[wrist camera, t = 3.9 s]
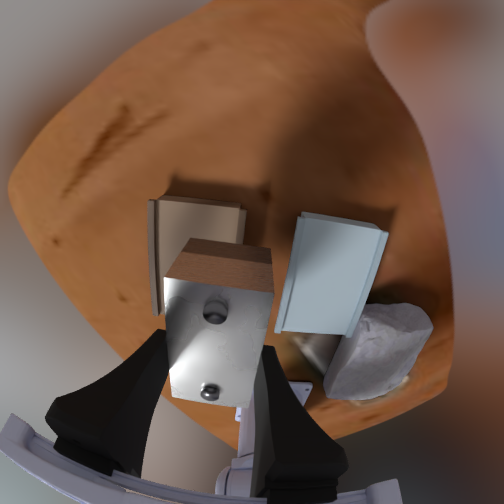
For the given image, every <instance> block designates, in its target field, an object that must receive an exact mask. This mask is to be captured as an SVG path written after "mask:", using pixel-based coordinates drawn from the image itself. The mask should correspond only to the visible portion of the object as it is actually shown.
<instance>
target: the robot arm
mask: <svg viewBox="0 0 504 504" xmlns="http://www.w3.org/2000/svg"><path fill="white" fill-rule="evenodd" d="M168 372H169V362H168V351H167V338H166V330H162V329H157V330H156V331H155V332H154V333H153V334H152V335H151V336H150V337H149V339H148V340H147V341H146V342H145V343H144V344H143V345H142V346H141V347H140V348H139V349H137V350H136V351H135V352H134V353H133V354H132V355H131V356H130V357H129V358H128V359H126V360H125V361H124V362H123V363H122V364H120V365H119V366H118V367H117V368H115V369H114V370H112V371H111V372H110V373H108V374H107V375H105V376H104V377H102V378H100V379H99V380H97V381H95V382H94V383H92V384H90V385H88V386H86V387H83V388H81V389H79V390H77V391H75V392H72V393H69V394H66V395H63V396H61V397H57V398H56V399H55V400H54V402H53V403H52V405H51V407H50V409H49V410H48V412H47V414H46V416H45V419H46V422H47V424H48V425H49V426H50V428H51V429H52V430H53V431H54V432H55V433H56V435H58V438H57V440H56V442H55V443H54V442H52V441H50V440H48V439H47V438H45V437H43V436H41V435H40V434H38V433H36V432H35V431H34V429H33V428H32V427H31V426H30V425H29V424H28V423H26V422H25V421H23V420H22V419H20V418H19V417H17V416H16V415H14V414H13V413H12V414H11V415H10V417H9V419H8V420H7V422H6V424H5V426H4V427H3V429H2V431H1V433H0V451H1V452H2V453H3V454H4V455H6V456H7V457H8V458H9V459H11V460H12V461H13V462H14V463H16V464H17V465H18V466H19V467H21V468H22V469H24V470H25V471H27V472H28V473H30V474H31V475H33V476H34V477H36V478H37V479H39V480H40V481H42V482H43V483H45V484H47V485H48V486H50V487H52V488H53V489H55V490H57V491H59V492H60V493H62V494H64V495H66V496H68V497H70V498H72V499H74V500H75V501H77V502H80V503H82V504H175V503H170V502H166V501H162V500H157V499H154V498H150V497H147V496H143V495H139V494H136V493H130V492H126V490H125V489H124V488H126V489H129V490H133V491H136V492H139V493H143V494H146V495H149V496H153V497H157V498H161V499H165V500H169V501H174V502H178V503H183V504H403V503H402V498H401V494H400V489H399V485H398V481H397V479H392V480H388V481H384V482H379V483H376V484H373V485H371V486H369V487H368V488H366V489H364V490H358V491H353V492H346V493H340V494H337V491H336V486H337V485H338V477H339V476H341V475H342V474H343V473H344V472H346V471H347V469H348V467H349V465H348V460H347V456H346V454H345V451H344V449H343V448H342V447H341V446H340V445H339V444H337V443H336V442H335V441H334V440H333V439H332V438H330V437H329V436H328V435H327V434H326V433H325V432H324V431H323V430H322V429H321V428H320V426H319V425H318V424H317V423H316V422H315V421H314V420H313V419H312V417H311V416H310V415H309V414H308V412H307V411H306V410H305V408H304V407H303V406H304V404H305V402H306V400H307V398H308V396H309V394H310V392H311V389H312V387H313V384H312V383H310V382H289V381H288V380H287V378H286V376H285V374H284V372H283V369H282V367H281V365H280V362H279V360H278V357H277V354H276V351H275V348H274V347H273V346H268V345H263V349H262V351H261V354H260V358H259V363H258V367H257V372H256V376H255V380H254V387H253V391H252V396H251V400H250V404H249V408H239V407H237V410H236V416H235V420H236V421H240V432H239V445H238V458H235V459H232V466H231V467H230V466H228V467H226V468H224V470H223V471H222V472H221V473H220V474H219V476H218V478H217V482H216V489H215V494H210V493H203V492H197V491H191V490H186V489H181V488H176V487H171V486H167V485H163V484H159V483H155V482H151V481H147V480H144V479H141V471H142V465H143V457H144V452H145V447H146V441H147V436H148V432H149V428H150V424H151V420H152V416H153V413H154V409H155V407H156V404H157V402H158V399H159V396H160V394H161V391H162V389H163V386H164V384H165V381H166V379H167V376H168ZM117 485H118V486H117ZM120 486H121V487H120ZM122 487H123V488H122Z"/></svg>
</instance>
